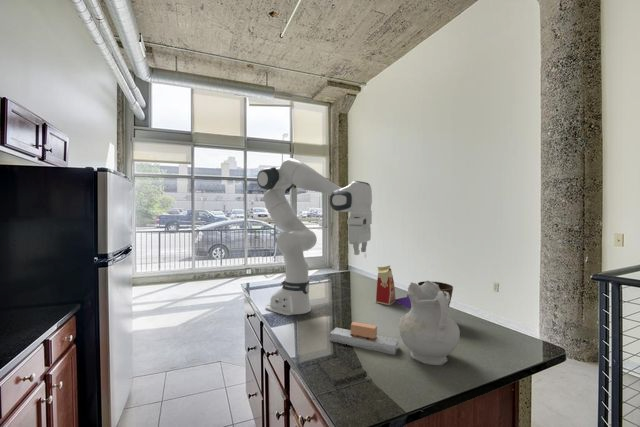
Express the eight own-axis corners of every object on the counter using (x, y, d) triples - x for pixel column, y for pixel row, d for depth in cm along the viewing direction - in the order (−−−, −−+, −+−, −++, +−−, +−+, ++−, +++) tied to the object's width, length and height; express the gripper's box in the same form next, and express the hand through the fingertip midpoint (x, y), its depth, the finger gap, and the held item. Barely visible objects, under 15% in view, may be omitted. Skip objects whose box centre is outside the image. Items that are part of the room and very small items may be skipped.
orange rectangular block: (350, 343, 110) (350, 324, 110) (353, 340, 113) (353, 321, 113) (374, 348, 106) (375, 328, 106) (376, 344, 109) (377, 325, 109)
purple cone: (420, 307, 153) (420, 294, 153) (409, 309, 151) (409, 295, 151) (406, 301, 165) (406, 288, 165) (395, 302, 162) (395, 289, 162)
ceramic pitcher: (477, 375, 92) (484, 294, 93) (423, 379, 87) (430, 293, 87) (432, 344, 113) (437, 278, 113) (386, 346, 107) (392, 277, 108)
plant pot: (415, 313, 144) (416, 280, 144) (448, 316, 141) (449, 282, 141) (419, 324, 129) (419, 287, 129) (456, 328, 126) (456, 290, 126)
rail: (329, 341, 112) (330, 333, 112) (335, 335, 117) (335, 327, 117) (395, 354, 102) (395, 346, 102) (398, 347, 107) (398, 339, 107)
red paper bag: (395, 301, 163) (396, 264, 162) (389, 305, 155) (390, 267, 155) (379, 298, 168) (380, 262, 167) (373, 302, 160) (374, 265, 160)
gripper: (360, 219, 135) (360, 249, 135) (345, 220, 116) (344, 255, 117) (374, 219, 132) (373, 250, 133) (361, 220, 114) (360, 257, 114)
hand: (360, 253), depth 124 cm, fingers open, 8 cm apart
